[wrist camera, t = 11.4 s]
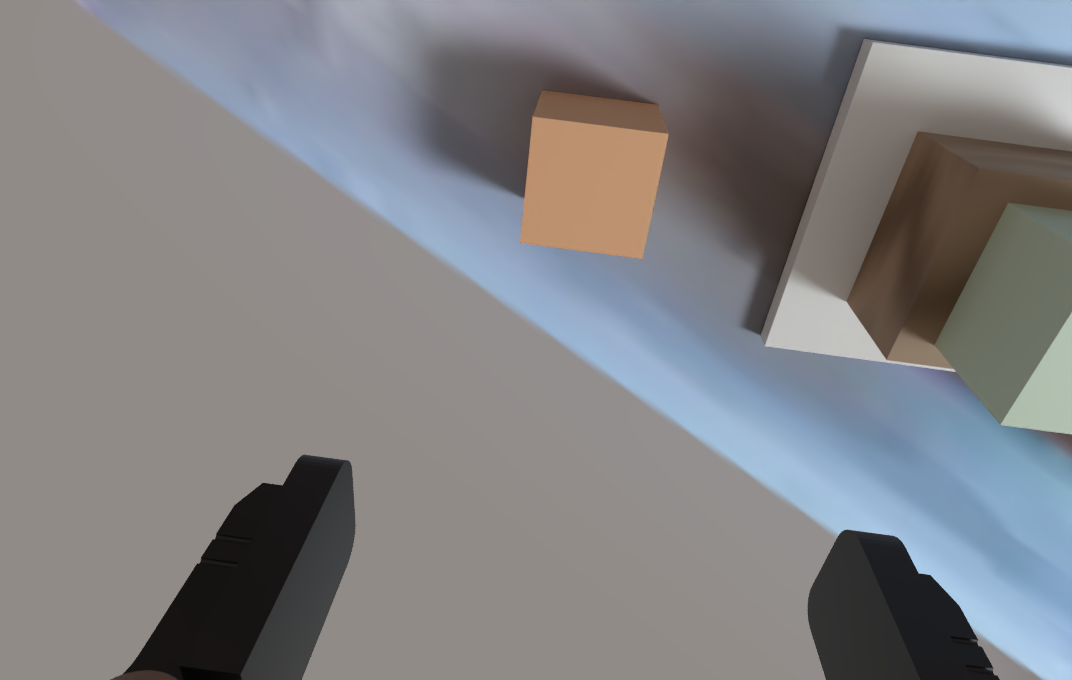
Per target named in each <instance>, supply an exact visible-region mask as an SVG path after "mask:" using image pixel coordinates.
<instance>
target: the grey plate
mask: <svg viewBox="0 0 1072 680" xmlns="http://www.w3.org/2000/svg"><path fill="white" fill-rule="evenodd" d="M918 131H919V132H927V133H934V134H942V135H949V136H957V137H965V138H972V139H980V140H988V141H995V142H1003V143H1011V144H1018V145H1026V146H1033V147H1041V148H1049V149H1056V150H1064V151H1072V66H1070V65H1063V64H1055V63H1047V62H1039V61H1032V60H1024V59H1016V58H1009V57H1001V56H993V55H985V54H978V53H970V52H962V51H954V50H947V49H939V48H931V47H924V46H916V45H908V44H900V43H893V42H885V41H877V40H870V39H864V40H863V43H862V46H861V49H860V52H859V54H858V57H857V60H856V63H855V66H854V69H853V72H852V75H851V77H850V80H849V83H848V86H847V89H846V92H845V95H844V97H843V100H842V103H841V106H840V109H839V112H838V115H837V118H836V120H835V123H834V126H833V129H832V132H831V135H830V138H829V141H828V143H827V146H826V149H825V152H824V155H823V158H822V161H821V163H820V166H819V169H818V172H817V175H816V178H815V181H814V184H813V186H812V189H811V192H810V195H809V198H808V201H807V204H806V207H805V209H804V212H803V215H802V218H801V221H800V224H799V227H798V230H797V232H796V235H795V238H794V241H793V244H792V247H791V250H790V252H789V255H788V258H787V261H786V264H785V267H784V270H783V273H782V275H781V278H780V281H779V284H778V287H777V290H776V293H775V296H774V298H773V301H772V304H771V307H770V310H769V313H768V316H767V319H766V321H765V324H764V327H763V330H762V333H761V338H762V340H763V343H764V345H765V346H768V347H776V348H783V349H790V350H798V351H805V352H813V353H820V354H828V355H835V356H842V357H850V358H857V359H865V360H872V361H880V362H887V363H894V364H902V365H909V366H917V367H924V368H932V369H939V370H946V371H954V372H956V371H955V370H954V369H949V368H942V367H934V366H927V365H919V364H912V363H904V362H897V361H890V360H886V359H885V357H884V356H883V354H882V353H881V351H880V350H879V348H878V347H877V346H876V344H875V343H874V341H873V340H872V338H871V337H870V335H869V334H868V332H867V331H866V330H865V328H864V327H863V325H862V324H861V322H860V321H859V319H858V318H857V316H856V315H855V314H854V312H853V311H852V309H851V308H850V306H849V305H848V303H847V299H848V297H849V294H850V292H851V290H852V287H853V285H854V283H855V280H856V278H857V275H858V273H859V271H860V268H861V266H862V263H863V261H864V259H865V256H866V254H867V252H868V249H869V247H870V244H871V242H872V240H873V237H874V235H875V232H876V230H877V228H878V225H879V223H880V220H881V218H882V216H883V213H884V211H885V209H886V206H887V204H888V201H889V199H890V197H891V194H892V192H893V189H894V187H895V185H896V182H897V180H898V177H899V175H900V173H901V170H902V168H903V166H904V163H905V161H906V158H907V156H908V154H909V151H910V149H911V146H912V144H913V142H914V139H915V137H916V135H917V132H918Z"/></svg>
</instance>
